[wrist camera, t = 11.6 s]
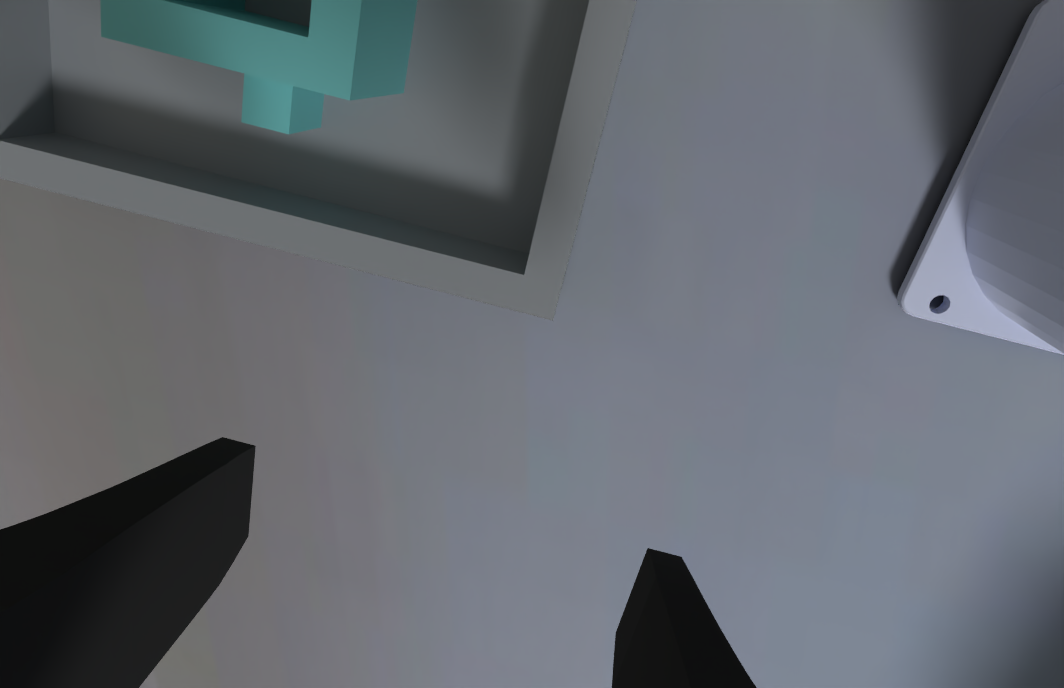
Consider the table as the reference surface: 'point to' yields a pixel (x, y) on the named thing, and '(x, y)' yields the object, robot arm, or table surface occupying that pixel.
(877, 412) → the table surface
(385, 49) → the teal hollow block
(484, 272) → the tray
